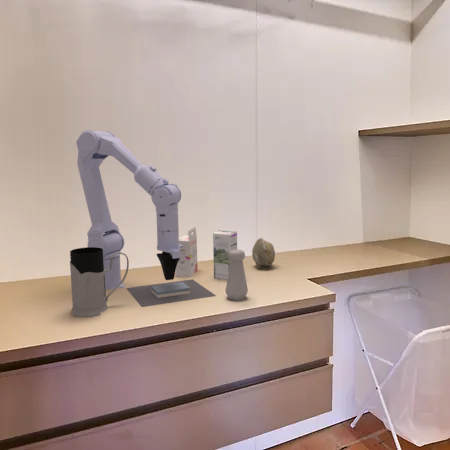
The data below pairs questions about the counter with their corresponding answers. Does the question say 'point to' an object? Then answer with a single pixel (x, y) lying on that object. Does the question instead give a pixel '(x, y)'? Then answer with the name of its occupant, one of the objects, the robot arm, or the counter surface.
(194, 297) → the mat
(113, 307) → the counter surface
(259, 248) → the rock
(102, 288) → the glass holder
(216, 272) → the syrup box
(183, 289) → the block
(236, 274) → the salt shaker
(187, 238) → the ink cartridge box
